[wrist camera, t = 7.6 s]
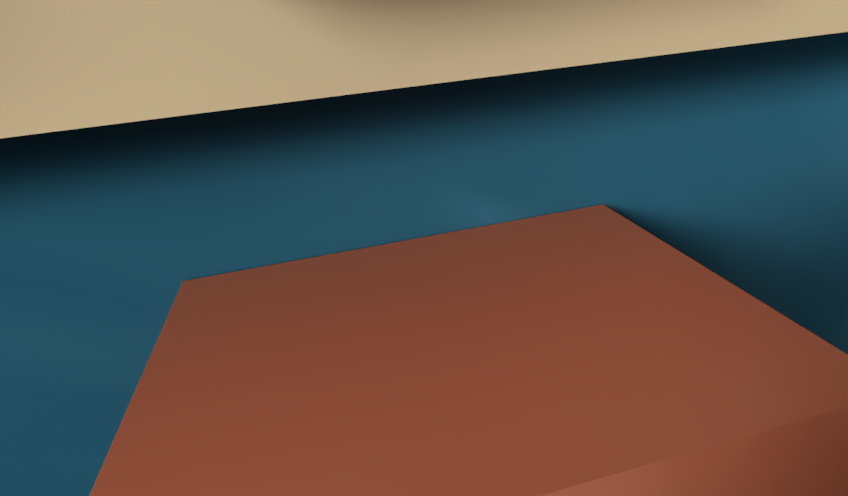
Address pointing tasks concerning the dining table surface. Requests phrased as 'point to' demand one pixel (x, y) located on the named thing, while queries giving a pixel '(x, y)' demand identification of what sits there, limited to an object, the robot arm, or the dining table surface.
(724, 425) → the terracotta orange block
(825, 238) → the dining table surface
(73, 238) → the dining table surface
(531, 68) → the breaker panel
